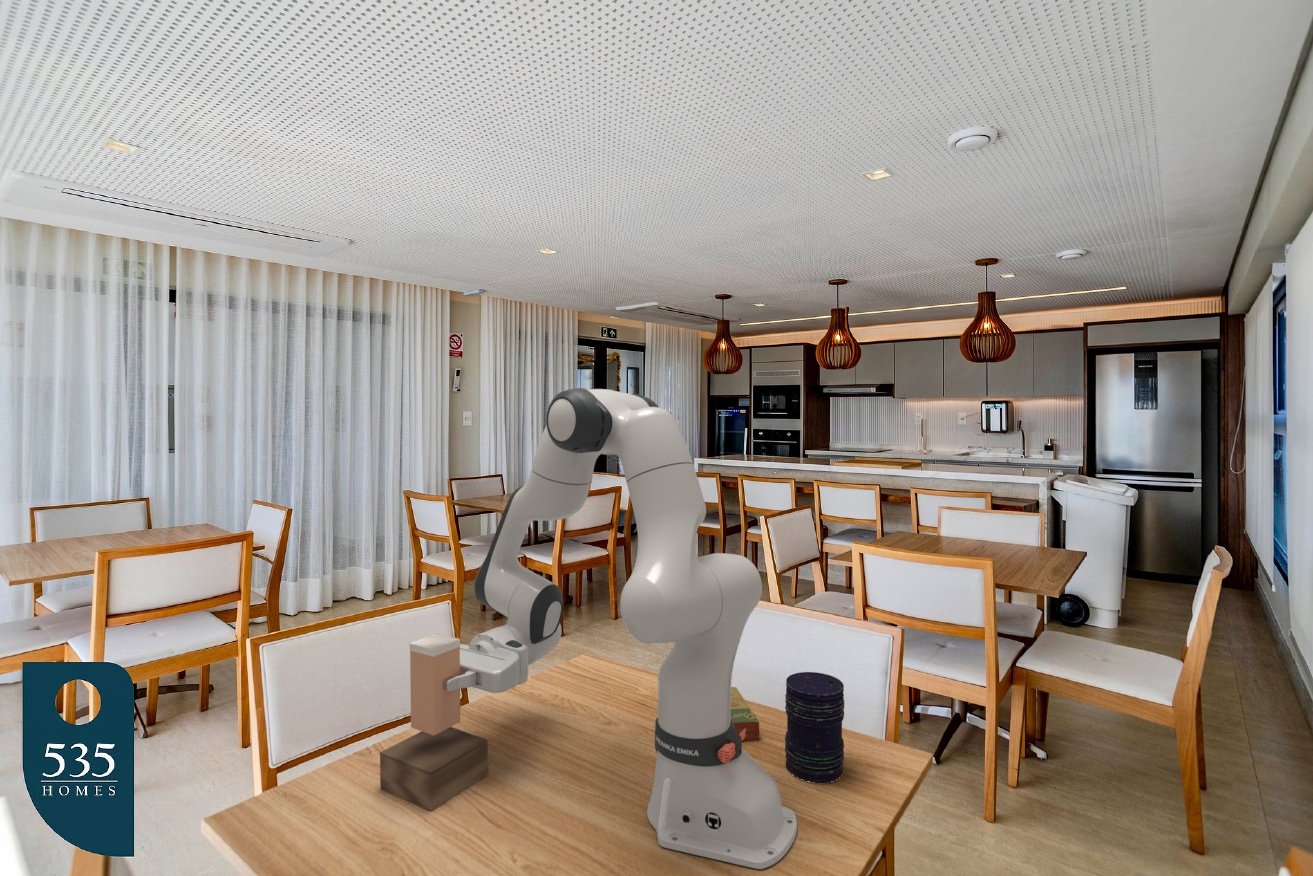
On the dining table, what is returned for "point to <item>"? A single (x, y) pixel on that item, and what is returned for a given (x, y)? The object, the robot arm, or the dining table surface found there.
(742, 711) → the carton
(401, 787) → the wooden block
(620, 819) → the dining table surface
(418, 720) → the tall carton
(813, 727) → the storage jar
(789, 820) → the robot arm
